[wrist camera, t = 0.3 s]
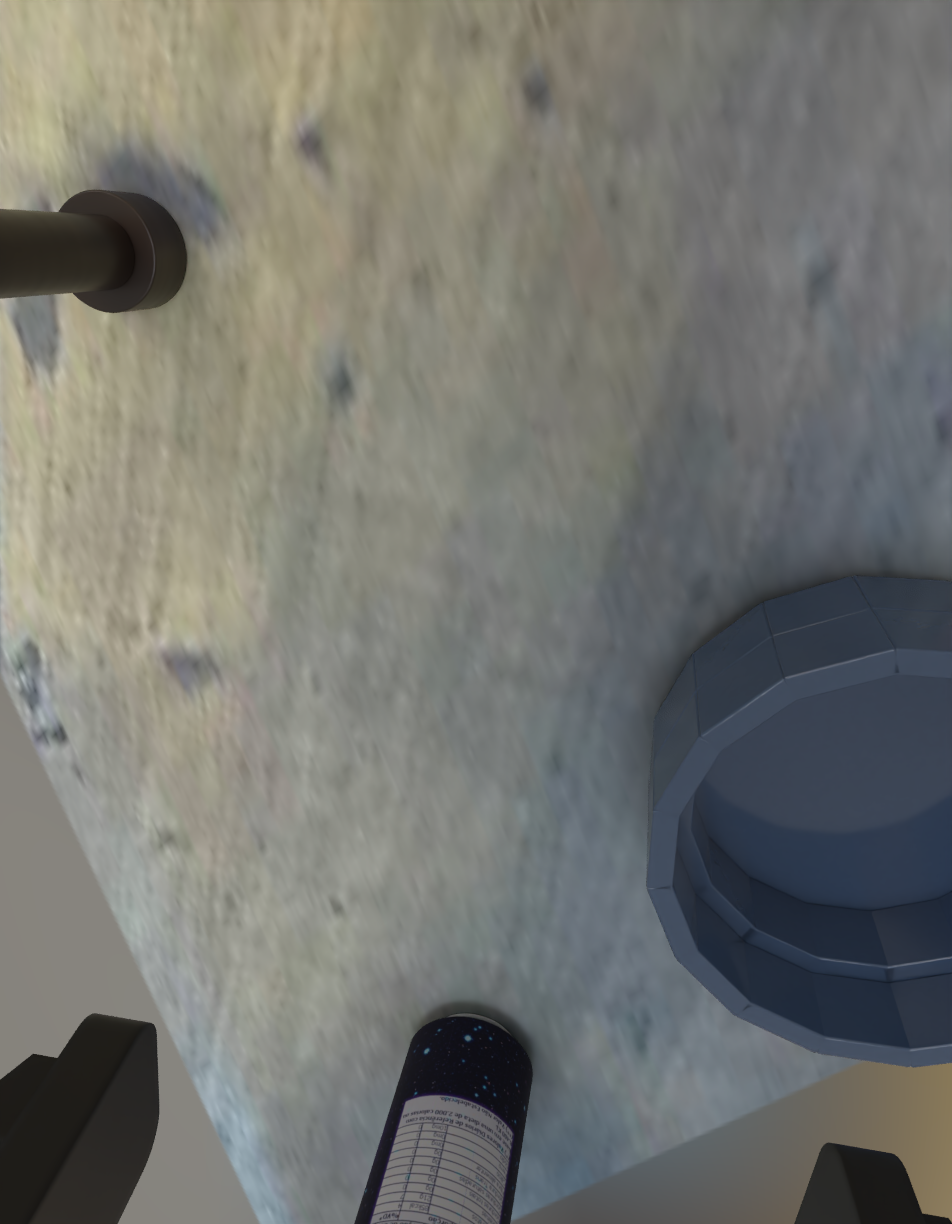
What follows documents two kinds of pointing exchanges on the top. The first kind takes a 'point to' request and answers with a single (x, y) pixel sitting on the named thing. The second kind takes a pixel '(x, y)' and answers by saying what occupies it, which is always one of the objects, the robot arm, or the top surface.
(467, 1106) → the beverage can
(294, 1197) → the top surface
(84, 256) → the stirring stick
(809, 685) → the bowl
